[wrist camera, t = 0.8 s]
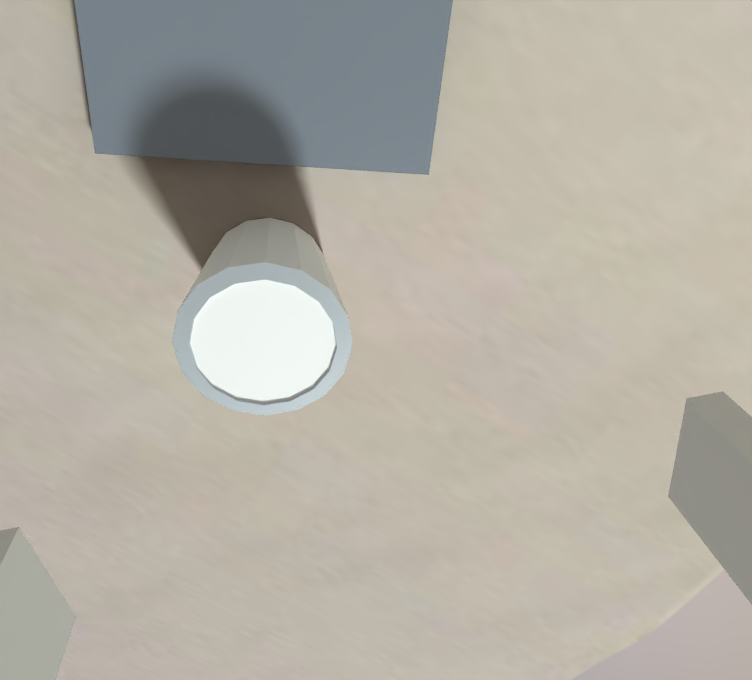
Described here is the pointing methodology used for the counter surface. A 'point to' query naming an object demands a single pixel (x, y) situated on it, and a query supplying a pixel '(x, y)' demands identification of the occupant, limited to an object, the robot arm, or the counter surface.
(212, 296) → the shot glass
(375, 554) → the counter surface
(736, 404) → the robot arm
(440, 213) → the counter surface
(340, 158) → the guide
